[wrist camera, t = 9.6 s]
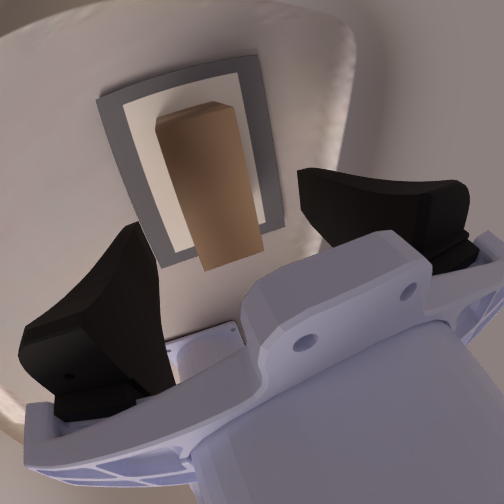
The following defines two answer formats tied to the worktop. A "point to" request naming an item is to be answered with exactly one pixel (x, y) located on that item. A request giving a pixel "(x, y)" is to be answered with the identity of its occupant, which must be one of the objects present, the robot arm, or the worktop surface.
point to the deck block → (211, 181)
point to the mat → (151, 158)
